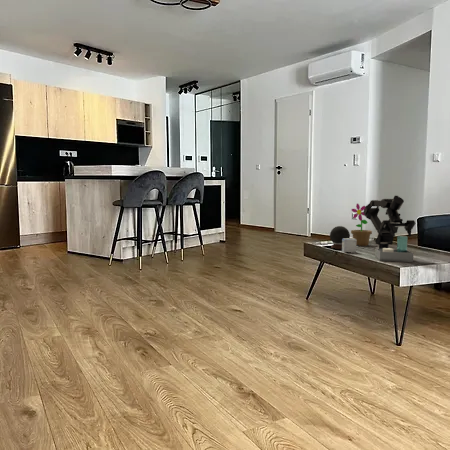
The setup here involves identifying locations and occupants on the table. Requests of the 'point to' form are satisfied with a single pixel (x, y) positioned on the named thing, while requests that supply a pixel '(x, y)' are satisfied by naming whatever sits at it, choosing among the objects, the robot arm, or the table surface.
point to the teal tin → (402, 244)
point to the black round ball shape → (338, 236)
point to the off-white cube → (388, 250)
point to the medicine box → (349, 245)
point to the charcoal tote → (394, 256)
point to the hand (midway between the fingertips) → (402, 236)
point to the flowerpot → (361, 235)
